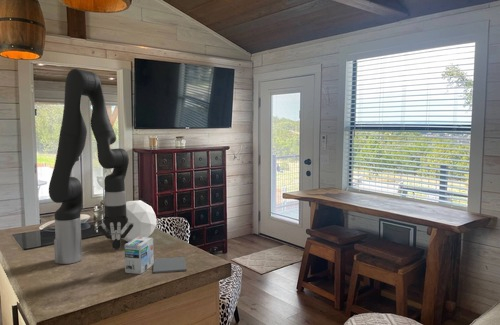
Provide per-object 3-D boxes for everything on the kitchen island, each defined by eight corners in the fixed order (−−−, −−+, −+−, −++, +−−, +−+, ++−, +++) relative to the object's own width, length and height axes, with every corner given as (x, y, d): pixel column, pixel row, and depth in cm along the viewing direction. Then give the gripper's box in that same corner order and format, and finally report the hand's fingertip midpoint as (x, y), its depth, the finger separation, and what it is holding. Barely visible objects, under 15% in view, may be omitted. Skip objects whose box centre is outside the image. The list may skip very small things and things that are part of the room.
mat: (153, 273, 143) (153, 271, 143) (154, 260, 156) (154, 258, 156) (186, 270, 145) (186, 269, 145) (184, 258, 159) (184, 256, 159)
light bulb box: (141, 274, 141) (140, 245, 140) (124, 273, 143) (123, 244, 142) (154, 264, 152) (153, 237, 151) (138, 263, 153) (137, 236, 152)
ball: (132, 258, 178) (109, 231, 166) (122, 233, 193) (101, 206, 181) (168, 235, 182) (149, 206, 170) (156, 213, 197) (137, 185, 185)
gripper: (94, 206, 138) (96, 253, 140) (133, 204, 141) (134, 251, 143) (97, 201, 145) (99, 247, 147) (134, 200, 148) (136, 245, 150)
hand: (116, 249), depth 145 cm, fingers closed
